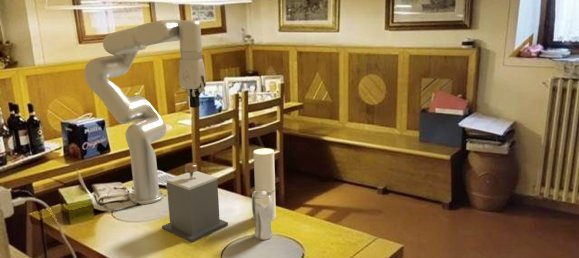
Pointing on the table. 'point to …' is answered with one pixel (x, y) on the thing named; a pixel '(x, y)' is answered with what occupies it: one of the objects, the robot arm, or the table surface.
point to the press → (193, 206)
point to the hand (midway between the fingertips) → (194, 106)
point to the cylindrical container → (265, 173)
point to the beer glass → (262, 213)
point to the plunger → (191, 169)
